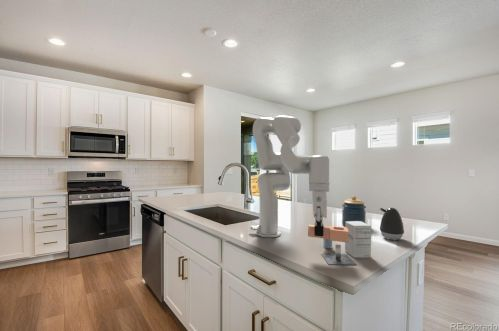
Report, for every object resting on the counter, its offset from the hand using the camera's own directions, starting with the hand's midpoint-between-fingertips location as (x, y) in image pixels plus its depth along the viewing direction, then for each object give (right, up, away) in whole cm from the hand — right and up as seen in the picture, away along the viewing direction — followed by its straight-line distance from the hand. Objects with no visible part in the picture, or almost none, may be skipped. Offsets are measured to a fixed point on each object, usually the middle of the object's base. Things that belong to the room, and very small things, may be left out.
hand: (319, 234), depth 95 cm
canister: (+34, -9, +49) cm, 61 cm away
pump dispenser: (+43, -9, +25) cm, 50 cm away
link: (+3, -1, -1) cm, 3 cm away
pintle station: (+7, -9, -2) cm, 12 cm away
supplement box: (+17, -9, +4) cm, 20 cm away
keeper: (+7, -9, +10) cm, 15 cm away
